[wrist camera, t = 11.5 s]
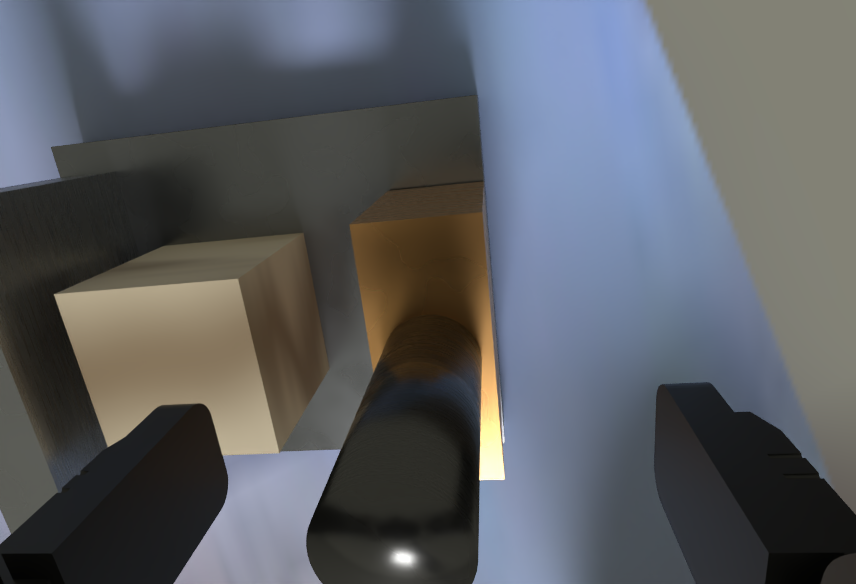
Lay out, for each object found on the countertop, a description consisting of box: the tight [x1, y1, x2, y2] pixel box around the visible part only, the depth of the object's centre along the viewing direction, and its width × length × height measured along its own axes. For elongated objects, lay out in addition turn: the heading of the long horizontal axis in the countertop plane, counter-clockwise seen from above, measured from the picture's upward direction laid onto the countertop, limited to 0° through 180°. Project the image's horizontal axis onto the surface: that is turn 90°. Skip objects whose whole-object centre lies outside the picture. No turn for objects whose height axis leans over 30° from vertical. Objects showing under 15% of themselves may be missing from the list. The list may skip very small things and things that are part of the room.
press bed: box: [0, 95, 505, 534], centre depth 17 cm, size 12×14×8 cm
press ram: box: [306, 181, 504, 584], centre depth 13 cm, size 7×3×11 cm, turn 7°
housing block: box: [54, 233, 330, 455], centre depth 17 cm, size 5×5×5 cm
